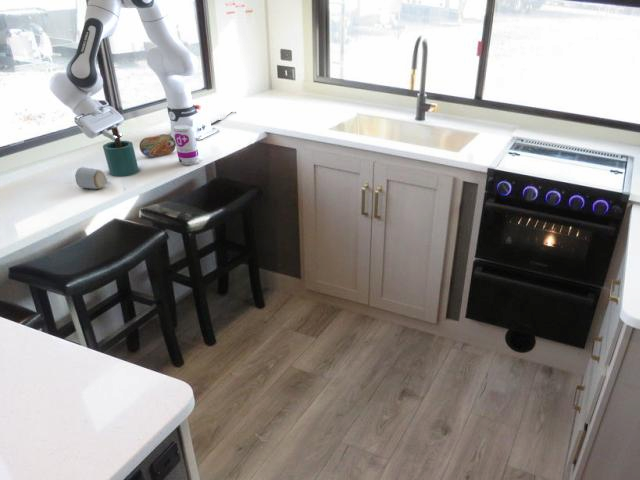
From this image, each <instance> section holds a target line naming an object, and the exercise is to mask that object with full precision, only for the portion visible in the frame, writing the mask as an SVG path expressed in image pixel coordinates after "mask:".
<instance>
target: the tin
mask: <svg viewBox="0 0 640 480" xmlns="http://www.w3.org/2000/svg"><path fill="white" fill-rule="evenodd" d="M138 146H139V151H140V152H141V154H142V155H143V156H145V157H146V158H150V159H151V158H157V157H162V156H166V155H171V154H172V153H173V152H174V151H175V150H176V144H175V140H174V139H173V138H172V137H171V135H169V134H167V133H162V134H157V135H153V136H152V135H151V136H147V137H144V138H143V139H141V141H140V142H139V145H138Z"/></svg>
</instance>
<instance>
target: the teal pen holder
mask: <svg viewBox="0 0 640 480" xmlns="http://www.w3.org/2000/svg"><path fill="white" fill-rule="evenodd" d="M121 144H122V147H121V148H116V145H115V141H110V142H106V143H105V144H103V145H102V149H103V151H104V152H103V153H104V155H105V161H106V164H107V167H108V171H109V174H110V175H111V176H114V177H127V176H132V175H135V174H136V173H138V172H139V165H138V161H137V157H136V152H135V148H134V144H133V142H132V141H129V140H121Z"/></svg>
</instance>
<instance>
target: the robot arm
mask: <svg viewBox="0 0 640 480" xmlns="http://www.w3.org/2000/svg"><path fill="white" fill-rule="evenodd" d="M122 8H123V9H124V8H125V9H136V10H137V13H138V16H139V18H140V21H141V24H142V25H143V28H144V30H145V33H146V35H147V38H148V39H149V41H151V42H152V43H153V44H155V46H157V47H151V48H149V50H148V51H147V52H146V63H147V66H148V67H149V68H150V69H151V70H152V71H153V72H154V73H155V75H156V76H157V78H158V80H159V82H160V84H161V86H162V88H163V91H164V94H165V100H166V104H167V107H166V109H167V114H168V118H169V125H170V136H171V137H172V138H173V139H174V134H173V130H174V127H175V126H177V125H183V124H187V125H191V126H192V128H193V129H194V133H195V139H196V141H200V140H203V139H205V138H207V137H209V136H211V135H213V134H215V133H218V129H217V128H215V127H214V126H213V125H215V124H217V123H219V122H221V121H222V120H219V119H217V120H215V121H214V122H212V123H211V121H210V119H209V118H208V117H206V116H205V115H204V114H201V112H199V111H198V110H201V105H200V104H194V103H193V97H192V90H191V88H190V86H189V85H188V83H186V82H185V81H184V79H183V78H182V77H189V76H190V77H191V76H194V75H195V74H196V73H197V72H198V70H199V61H198V57H197V56H196V55H195V54H194V53H193V52H192V51H190V50H189V49H188V48H187V47H186V45H185V44H184V43H183V42H182V40H181V39H180V38H179V36H178V35H177V32H176V31H175V29H174V27H173V24H172V22H171V19H170V17H169V15H168V12H167V9H166V7H165V5H164V2H163V1H162V0H88V1H87V5H86V9H85V14H84V23H83V29H82V32H81V35H80V38H79V42H78V45H77V49H76V52H75V54H74V56H73V57H72V58H71V59H70V61H69V62H68V63H67V65H66V69H65V71H63V72H61V71H59V72H56V73H55V74H54V75H53V76H52V77H51V79H50V81H49V90H50V91H51V92H52V93H53V95H54V96H55V97H56V98H57V99H58V100H59V101H60V102H61V103H62V104H63V105H64V106H66V107H67V108H69V109H70V110H71V112H72V113H73V114H74V115H75V116H74V118H73V121H74V123H75V124H76V125H77V127H78V129H79V130H80V131H81V132H82V134H84V135H85V136H86V137H87V138H88V139H95V138H96V137H99V136H101V135H102V136H104V137H106V138H108V139H110V140H111V142H114V141H115V140H116V139H117V136H115V135H114V134H113V133H112V132H109V131H112V129H111V127H117V128H118V132H119V136H120V138H122V137H123V135H124V134H123V133H122V132H121V131H120V129H119V127H120V126H122V124H123V123H124V121H125V118H124V117H123V115H122V114H121V113H120V112H119V111H118V110H116V108H115V107H113V106H111V105H110V103H109V102H108V101H107V100H106V99H93V98H92V96H94V95H95V94H97V93H99V92H100V91H101V90H102V89H103V86H104V79H103V76H102V75H101V73H100V72H99V71H98V70H97V67H96V59H97V55H98V52H99V49H100V44H101V42H102V41H103V40H104V39H106V38H110V37H112V36H113V35H114V34H115V33H116V30H117V27H118V24H119V20H120V15H121V9H122ZM174 140H175V139H174Z"/></svg>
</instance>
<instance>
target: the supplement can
mask: <svg viewBox="0 0 640 480" xmlns="http://www.w3.org/2000/svg"><path fill="white" fill-rule="evenodd" d="M173 134H174V139H175V144H176V147H175V150H176V152H177V153H176V154H177V158H178V163H180V164H181V165H183V166H191V165H196V164H197V163H199V162H200V157H199V151H198V145H197V140H196V139H195V133H194V129H193V128H192V126H191V125H187V124H183V125H177V126H175V127H174V130H173Z"/></svg>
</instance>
